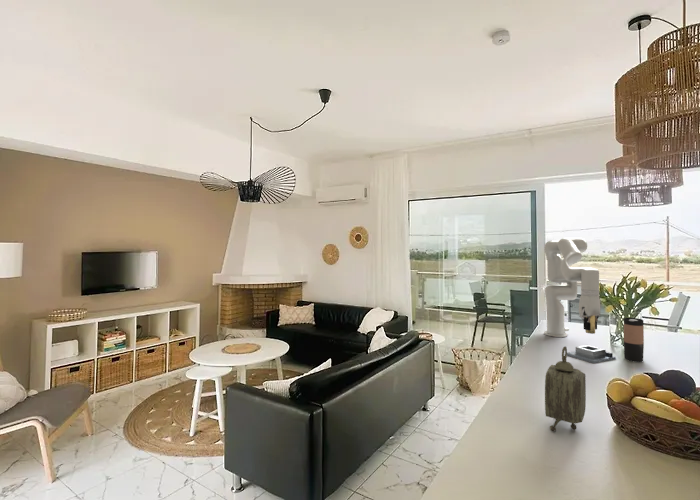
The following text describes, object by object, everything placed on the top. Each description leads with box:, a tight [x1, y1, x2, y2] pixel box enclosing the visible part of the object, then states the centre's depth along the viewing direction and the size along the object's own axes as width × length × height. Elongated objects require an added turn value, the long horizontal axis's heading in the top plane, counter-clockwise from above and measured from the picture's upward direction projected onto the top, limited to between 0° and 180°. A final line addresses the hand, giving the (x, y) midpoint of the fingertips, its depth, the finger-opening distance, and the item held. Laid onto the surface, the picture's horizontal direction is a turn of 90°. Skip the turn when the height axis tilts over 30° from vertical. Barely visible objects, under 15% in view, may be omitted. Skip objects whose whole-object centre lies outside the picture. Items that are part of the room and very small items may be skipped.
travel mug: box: [623, 317, 645, 363], centre depth 171 cm, size 8×8×20 cm
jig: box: [567, 344, 617, 364], centre depth 176 cm, size 16×14×4 cm
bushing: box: [585, 315, 596, 335], centre depth 176 cm, size 4×4×9 cm
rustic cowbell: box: [544, 346, 587, 432], centre depth 108 cm, size 14×9×25 cm, turn 141°
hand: (590, 329), depth 176 cm, fingers closed on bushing, 4 cm apart
